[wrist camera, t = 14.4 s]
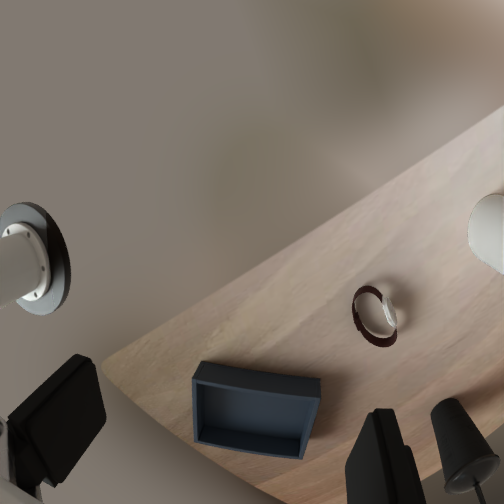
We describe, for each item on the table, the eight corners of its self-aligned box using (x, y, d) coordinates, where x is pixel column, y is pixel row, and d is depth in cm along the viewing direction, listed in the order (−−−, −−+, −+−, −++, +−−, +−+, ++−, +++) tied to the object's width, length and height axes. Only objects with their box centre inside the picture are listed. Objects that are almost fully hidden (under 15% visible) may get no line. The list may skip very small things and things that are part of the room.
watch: (402, 327, 34) (411, 342, 30) (368, 346, 35) (373, 363, 32) (377, 274, 33) (384, 286, 29) (339, 295, 34) (343, 309, 31)
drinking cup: (456, 425, 36) (494, 522, 17) (415, 429, 37) (444, 537, 18) (474, 388, 34) (528, 487, 15) (432, 391, 35) (477, 505, 16)
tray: (201, 424, 42) (193, 442, 39) (200, 360, 39) (191, 378, 35) (303, 440, 40) (302, 459, 37) (320, 378, 37) (321, 398, 33)
